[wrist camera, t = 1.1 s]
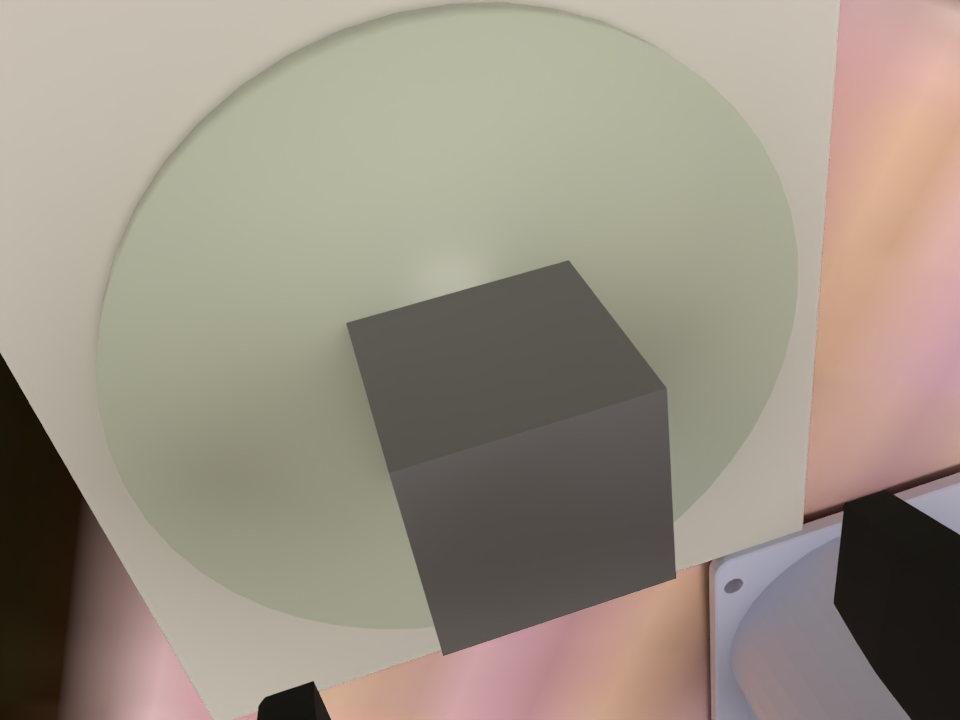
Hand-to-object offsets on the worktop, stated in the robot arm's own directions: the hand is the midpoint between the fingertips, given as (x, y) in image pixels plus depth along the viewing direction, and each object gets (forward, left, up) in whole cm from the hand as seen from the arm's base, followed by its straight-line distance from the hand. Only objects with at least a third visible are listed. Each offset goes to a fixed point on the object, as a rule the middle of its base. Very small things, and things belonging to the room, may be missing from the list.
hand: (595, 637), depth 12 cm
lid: (0, 0, -7) cm, 7 cm away
